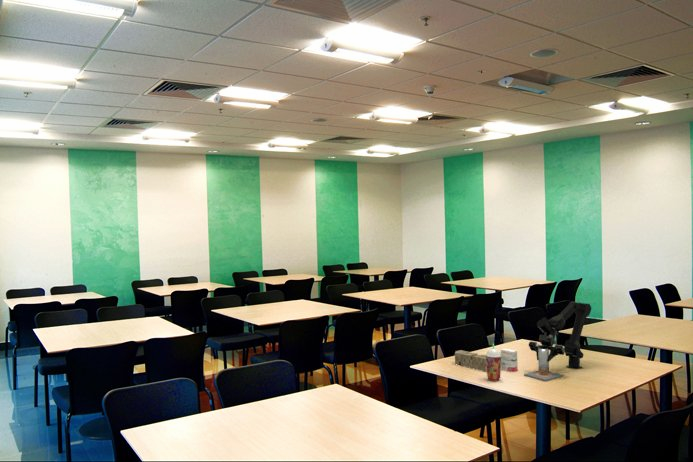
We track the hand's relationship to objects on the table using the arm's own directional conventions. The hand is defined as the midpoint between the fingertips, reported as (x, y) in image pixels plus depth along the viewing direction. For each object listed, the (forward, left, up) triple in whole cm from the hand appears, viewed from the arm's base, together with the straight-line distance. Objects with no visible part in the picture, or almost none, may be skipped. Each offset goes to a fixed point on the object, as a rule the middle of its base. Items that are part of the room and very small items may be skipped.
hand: (542, 360), depth 293 cm
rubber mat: (-1, 0, -9) cm, 9 cm away
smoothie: (+27, -11, -9) cm, 31 cm away
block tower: (+15, -36, -9) cm, 40 cm away
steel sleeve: (-1, 0, -7) cm, 7 cm away
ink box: (+4, -20, -9) cm, 23 cm away
